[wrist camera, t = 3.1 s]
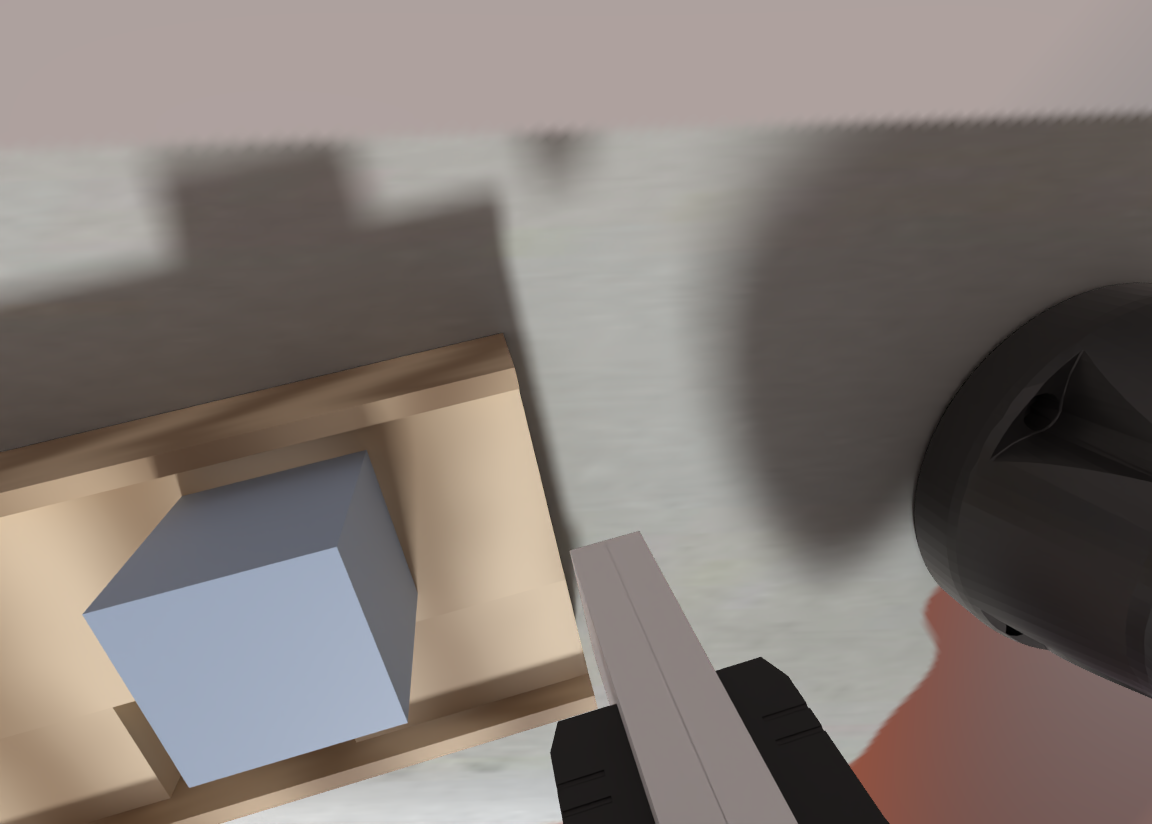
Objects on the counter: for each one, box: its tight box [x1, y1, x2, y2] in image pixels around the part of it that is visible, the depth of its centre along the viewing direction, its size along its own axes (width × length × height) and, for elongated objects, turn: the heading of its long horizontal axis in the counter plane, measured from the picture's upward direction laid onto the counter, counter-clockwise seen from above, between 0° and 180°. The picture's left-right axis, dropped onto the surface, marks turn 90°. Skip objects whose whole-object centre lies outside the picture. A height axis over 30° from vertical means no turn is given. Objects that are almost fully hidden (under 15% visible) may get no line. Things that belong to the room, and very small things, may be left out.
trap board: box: [0, 333, 598, 824], centre depth 17 cm, size 30×12×8 cm, turn 101°
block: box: [82, 450, 418, 788], centre depth 16 cm, size 5×5×5 cm
